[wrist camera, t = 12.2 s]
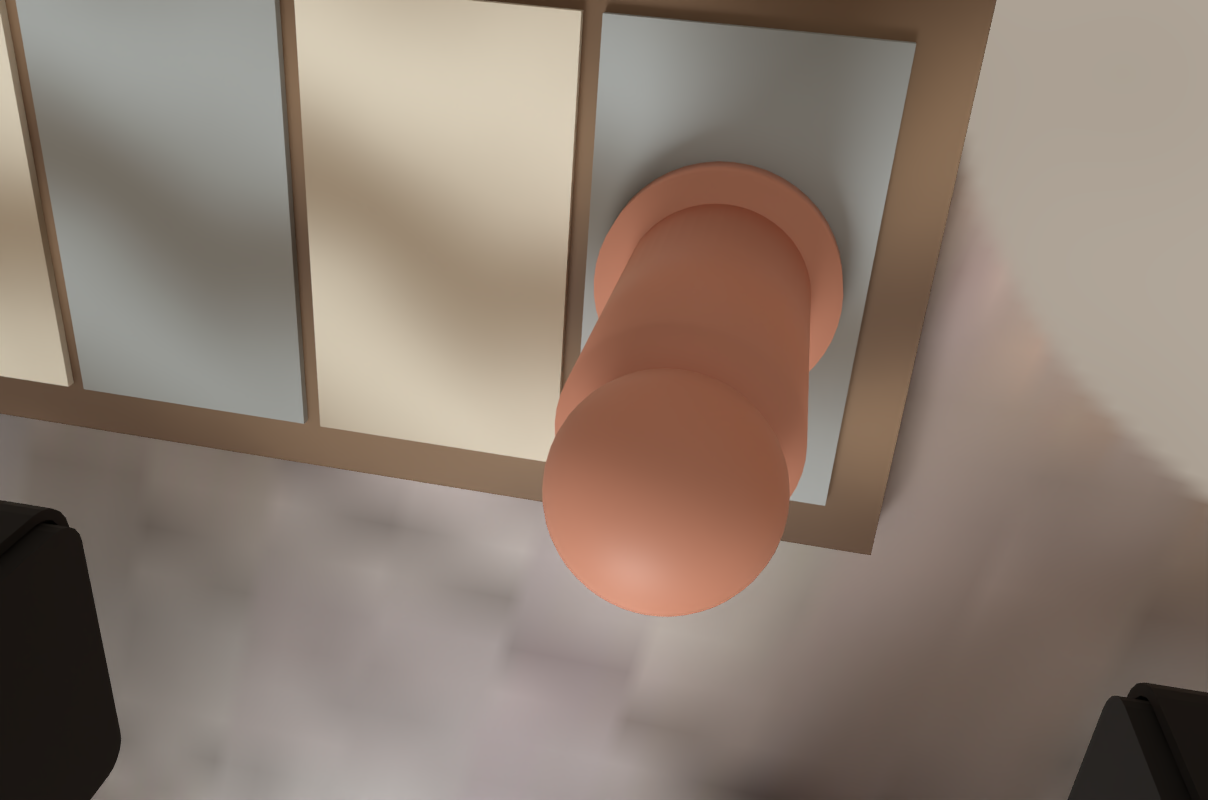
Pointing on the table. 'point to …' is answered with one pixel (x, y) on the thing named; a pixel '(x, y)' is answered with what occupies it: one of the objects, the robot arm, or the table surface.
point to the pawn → (692, 389)
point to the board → (445, 213)
